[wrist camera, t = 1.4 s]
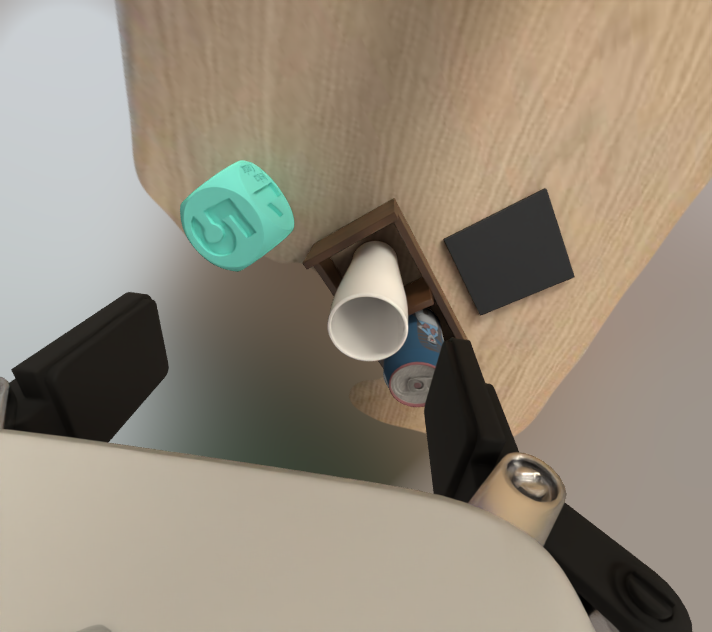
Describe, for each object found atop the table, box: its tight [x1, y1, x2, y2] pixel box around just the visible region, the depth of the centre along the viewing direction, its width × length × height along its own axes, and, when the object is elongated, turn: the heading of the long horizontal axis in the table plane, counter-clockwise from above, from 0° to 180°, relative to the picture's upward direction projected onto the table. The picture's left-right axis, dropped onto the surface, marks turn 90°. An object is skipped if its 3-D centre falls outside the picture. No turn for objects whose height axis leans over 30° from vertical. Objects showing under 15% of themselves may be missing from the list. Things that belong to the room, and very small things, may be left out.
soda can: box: [383, 308, 444, 407], centre depth 40 cm, size 7×7×12 cm
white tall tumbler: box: [328, 241, 408, 361], centre depth 35 cm, size 7×7×15 cm
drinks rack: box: [303, 198, 467, 369], centre depth 40 cm, size 11×20×6 cm, turn 30°
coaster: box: [444, 188, 574, 316], centre depth 39 cm, size 11×11×1 cm
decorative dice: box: [180, 160, 294, 272], centre depth 36 cm, size 8×8×8 cm
